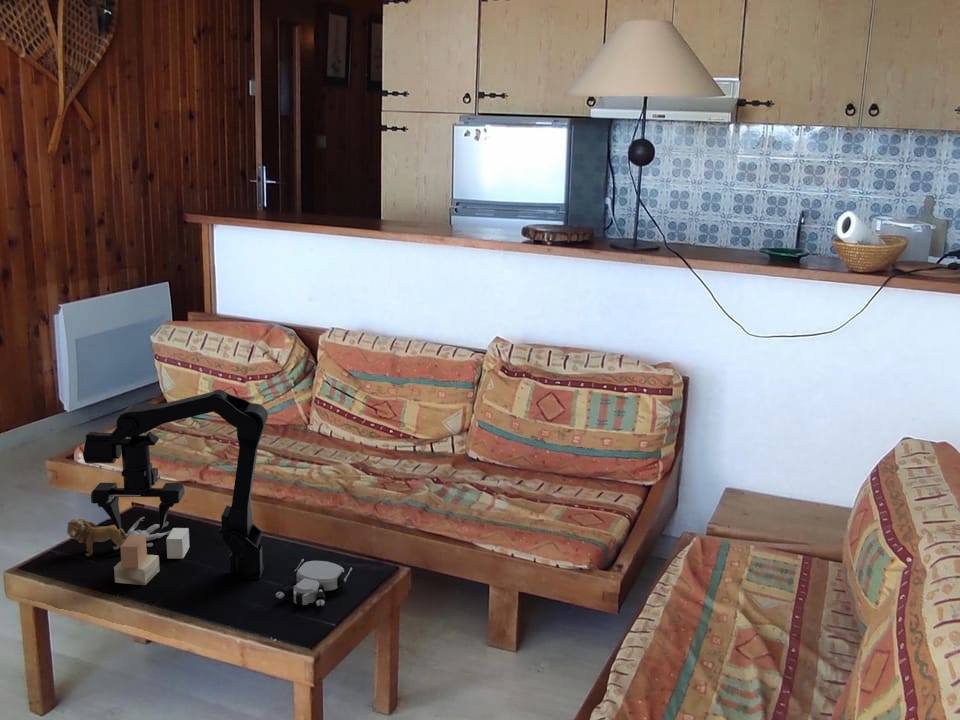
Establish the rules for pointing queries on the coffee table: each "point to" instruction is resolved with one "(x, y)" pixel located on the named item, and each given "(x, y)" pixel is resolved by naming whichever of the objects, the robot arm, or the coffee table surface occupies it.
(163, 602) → the coffee table surface
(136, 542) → the terracotta brick
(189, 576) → the coffee table surface
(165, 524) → the soldier figure
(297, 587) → the robot toy
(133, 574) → the birch block
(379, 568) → the coffee table surface
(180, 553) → the off-white brick
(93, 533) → the lion figurine
